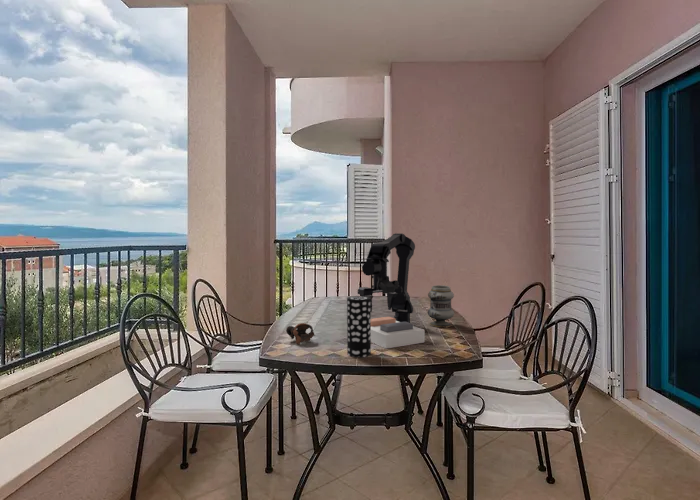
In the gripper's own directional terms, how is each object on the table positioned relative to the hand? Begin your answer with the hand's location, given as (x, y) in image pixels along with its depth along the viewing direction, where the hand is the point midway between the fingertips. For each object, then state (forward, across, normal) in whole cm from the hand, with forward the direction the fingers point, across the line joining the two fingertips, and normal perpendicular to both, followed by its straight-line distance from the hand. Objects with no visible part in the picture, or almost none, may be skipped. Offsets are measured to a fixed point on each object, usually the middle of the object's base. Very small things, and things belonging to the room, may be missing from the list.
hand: (380, 310), depth 178 cm
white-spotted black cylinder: (+11, -21, -19) cm, 30 cm away
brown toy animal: (+11, -33, +8) cm, 35 cm away
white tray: (+10, 0, -6) cm, 12 cm away
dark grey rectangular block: (+7, 0, -12) cm, 14 cm away
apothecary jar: (+10, +35, +3) cm, 37 cm away
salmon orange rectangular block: (+8, 0, 0) cm, 8 cm away
